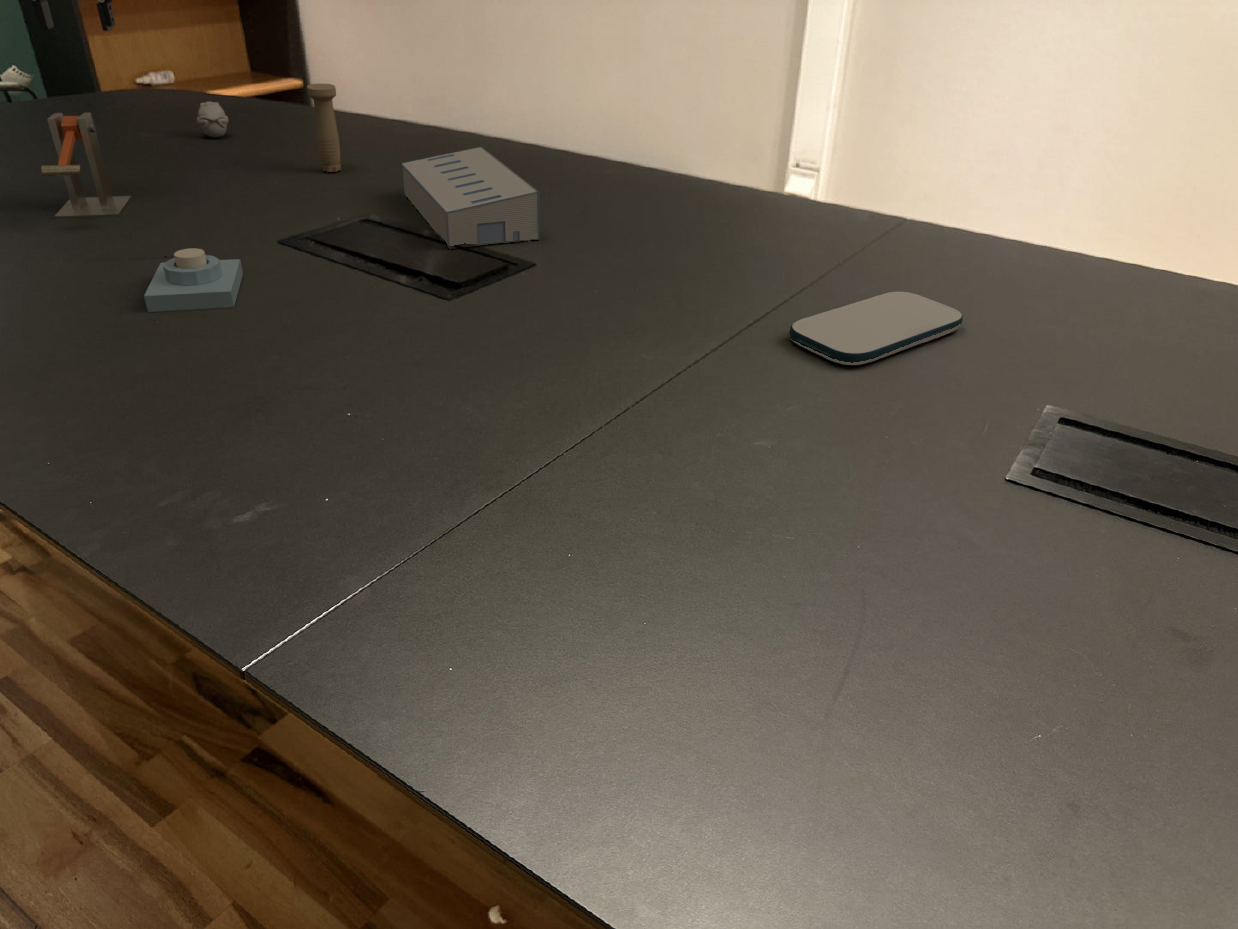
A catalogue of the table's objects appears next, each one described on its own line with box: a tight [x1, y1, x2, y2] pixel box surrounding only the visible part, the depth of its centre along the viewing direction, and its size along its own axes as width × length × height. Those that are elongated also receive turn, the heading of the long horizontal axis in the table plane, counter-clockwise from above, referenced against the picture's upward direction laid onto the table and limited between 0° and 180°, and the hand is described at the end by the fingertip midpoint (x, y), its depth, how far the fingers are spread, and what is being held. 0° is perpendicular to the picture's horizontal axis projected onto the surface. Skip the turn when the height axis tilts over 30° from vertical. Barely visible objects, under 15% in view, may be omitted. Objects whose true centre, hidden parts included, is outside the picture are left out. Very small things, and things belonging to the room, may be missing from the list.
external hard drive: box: [788, 290, 964, 363], centre depth 113 cm, size 24×12×2 cm, turn 127°
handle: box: [306, 83, 342, 173], centre depth 166 cm, size 5×6×15 cm
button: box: [173, 247, 207, 269], centre depth 115 cm, size 4×4×2 cm
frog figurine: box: [196, 100, 229, 139], centre depth 188 cm, size 6×7×7 cm
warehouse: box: [400, 146, 540, 246], centre depth 147 cm, size 30×14×8 cm, turn 24°
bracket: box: [46, 112, 132, 220], centre depth 140 cm, size 10×9×15 cm
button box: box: [143, 254, 244, 313], centre depth 116 cm, size 12×10×4 cm
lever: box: [40, 115, 84, 177], centre depth 134 cm, size 13×5×2 cm, turn 14°
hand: (78, 29), depth 135 cm, fingers open, 8 cm apart
